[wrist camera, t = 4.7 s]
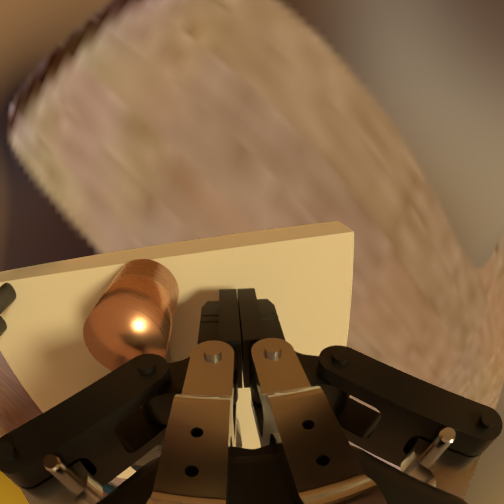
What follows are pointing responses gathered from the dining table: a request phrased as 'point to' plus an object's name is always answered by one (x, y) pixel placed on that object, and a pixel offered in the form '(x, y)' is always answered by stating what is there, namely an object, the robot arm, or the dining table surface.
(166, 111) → the dining table surface
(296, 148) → the dining table surface
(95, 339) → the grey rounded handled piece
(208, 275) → the base board
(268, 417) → the robot arm
